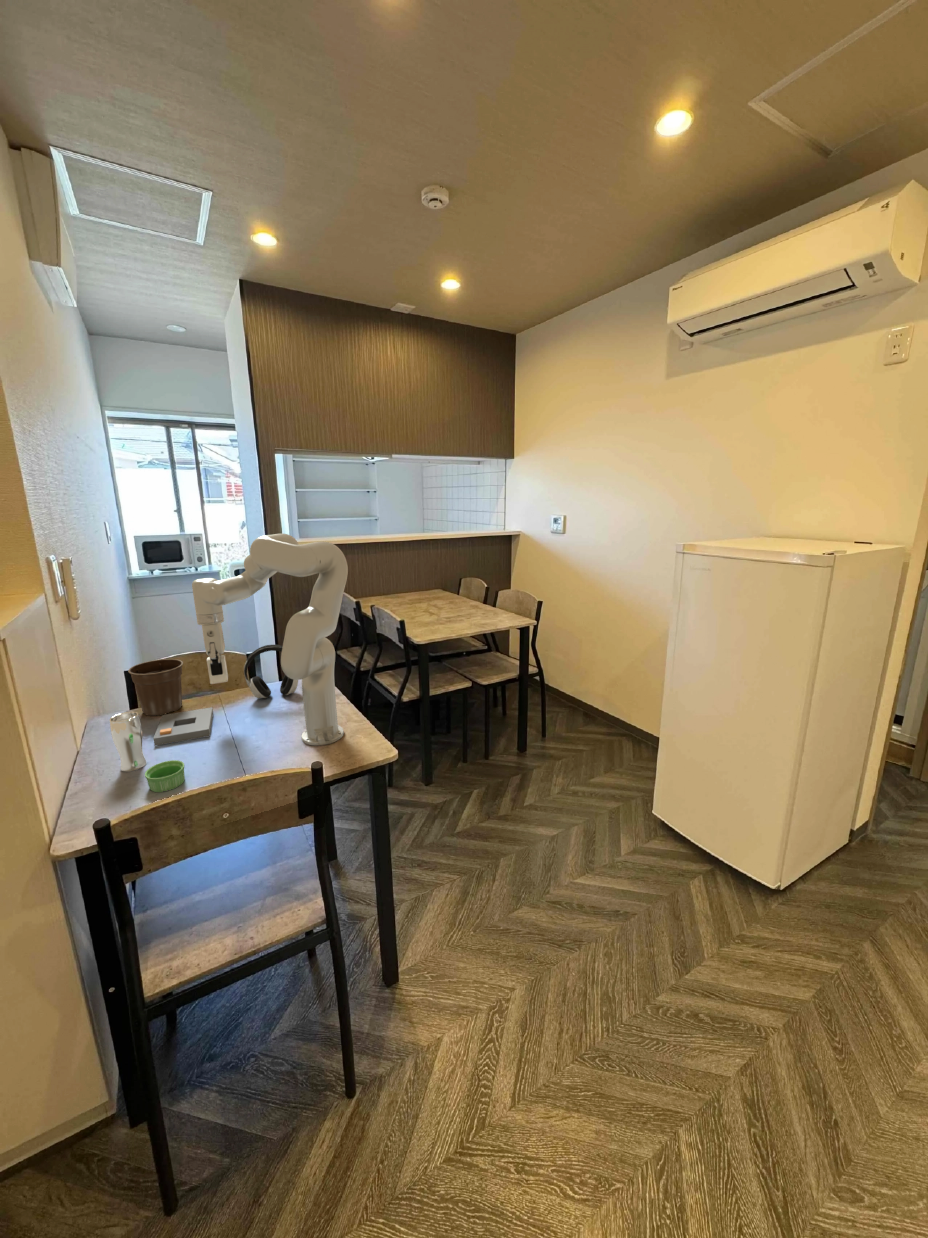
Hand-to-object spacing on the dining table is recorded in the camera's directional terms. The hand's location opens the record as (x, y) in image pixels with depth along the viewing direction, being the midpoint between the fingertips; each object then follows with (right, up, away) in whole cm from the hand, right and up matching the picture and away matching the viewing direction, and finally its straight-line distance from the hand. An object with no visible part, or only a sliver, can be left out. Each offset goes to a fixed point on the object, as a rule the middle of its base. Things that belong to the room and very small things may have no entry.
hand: (217, 672), depth 162 cm
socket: (-10, -18, 0) cm, 21 cm away
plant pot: (-27, -15, +15) cm, 34 cm away
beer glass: (-13, -24, -22) cm, 35 cm away
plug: (0, -3, +1) cm, 3 cm away
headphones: (+9, -12, +25) cm, 29 cm away
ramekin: (+2, -26, -31) cm, 40 cm away
